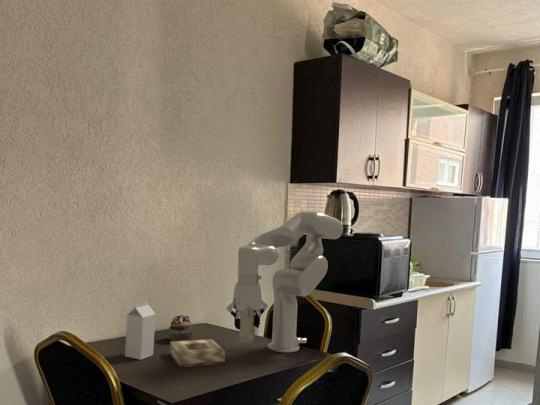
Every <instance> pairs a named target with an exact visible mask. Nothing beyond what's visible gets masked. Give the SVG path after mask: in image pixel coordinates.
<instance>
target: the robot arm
mask: <svg viewBox="0 0 540 405" xmlns="http://www.w3.org/2000/svg"><path fill="white" fill-rule="evenodd" d="M343 231H344V225H343V223H342V222H341V220H340V219H338V218H335V217H333V216H330V215H328V214H326V213H322V212H318V211H304V210H303V211H300V212H298V213H296V214H294V216H291V217H290V219H288V220H287V221H286V222H284V223H283V224H282V225H281V226H279V227H277V228H274V229H272V230H269V231H267V232H264V233H261V234H260V235H258V236H257V237H255V238H254V239H252V240H251V241H250V242H248V244H247V245H246V246H245V245H243V246H240V247H239V248H238V252H237V253H238V254H237V258H238V259H237V282H236V283H235V285H234V289H233V296H232V302H231V303H229V305H228V306H226V311H228V312H229V314H230V315H231V316H232V317H234V324H233V325H234V327H235V329H236V330H239V331H240V314H241V311H244V309H253V311H255V320H254V328H256V329H257V328H258V329H259V328H260V325H261V317H262V315H263V313H265V311H266V309H267V308H268V307H269V305H268V304H267V303H266V302H265V301H264V300H262V290H261V284H260V282H259V281H261V280H262V275H259V266H271V265H273V264H275V263H276V262H277V261H278V259H279V252H278V250H277V248H284V247H287V246H288V247H289V246H291V245H293V244H295V243H296V242H297V241H298V240H299V239H301V237H303V236H304V235H305V234H306V241H305V243H304V245H303V246H302V247H301V248H300V250H299V251H298V252H297V253H296V254H295V255H294V256H293V257H292V259H291V261H290V263H289V268H281V269H280V268H279V269H278V270H276V271H275V272H274V273H273V276H272V278H271V279H272V280H271V281H272V282H271V284H272V289H273V312H272V313H273V314H272V331H271V332H272V334H271V335H272V336H271V337H272V338H271V342H268V343H267V348H268V349H269V350H271V351H273V352H276V353H277V352H279V353H295V352H298V351H299V350H300V344H306V343H307V342H308V341H307V340H308V339H307V338H306V337H297V324H298V323H297V322H298V300H297V297H296V296H298V297H307V296H309V295H310V294H312V292H313V291H314V290H315V289H316V288H317V286H318V285H319V284H320V282H322V280H323V279H324V277H325V276H326V274H327V272H328V266H329V262H328V260H327V258H326V257H325V256H324V255H323V253H324V247H323V243H322V239H328V240H337V239H339V238H341V236H343ZM234 310H235V311H234Z"/></svg>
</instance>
